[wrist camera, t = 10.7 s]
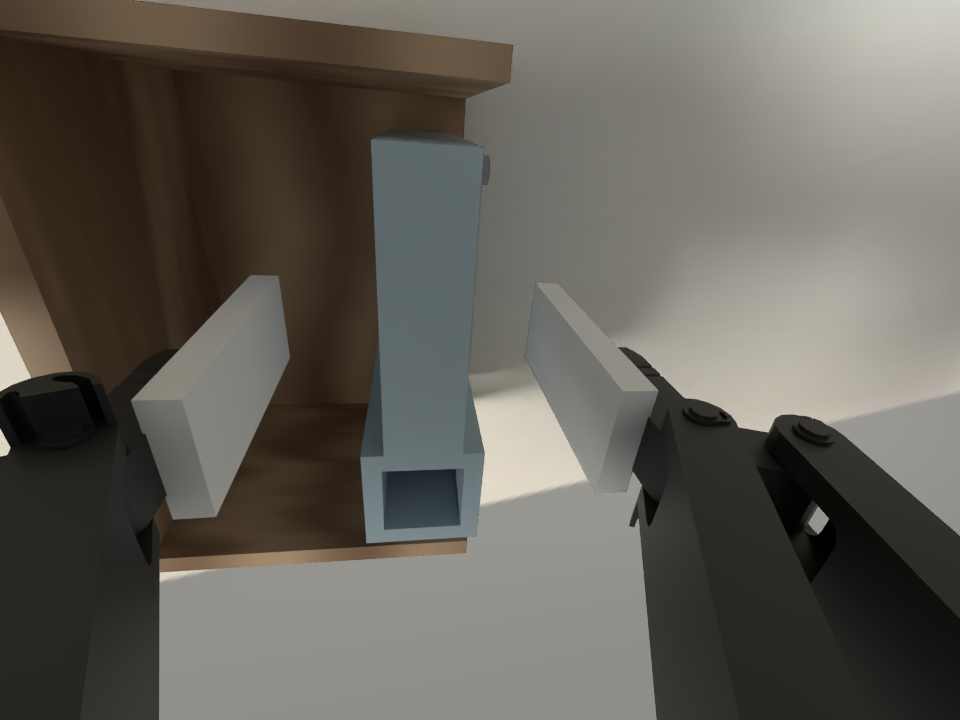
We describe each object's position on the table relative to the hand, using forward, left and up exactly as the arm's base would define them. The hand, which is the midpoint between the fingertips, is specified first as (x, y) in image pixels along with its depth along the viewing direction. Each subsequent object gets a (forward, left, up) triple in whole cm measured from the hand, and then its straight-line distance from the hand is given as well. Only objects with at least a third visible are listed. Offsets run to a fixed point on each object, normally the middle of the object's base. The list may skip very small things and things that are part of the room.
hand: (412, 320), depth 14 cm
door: (0, -2, -11) cm, 11 cm away
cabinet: (-5, -2, -12) cm, 13 cm away
